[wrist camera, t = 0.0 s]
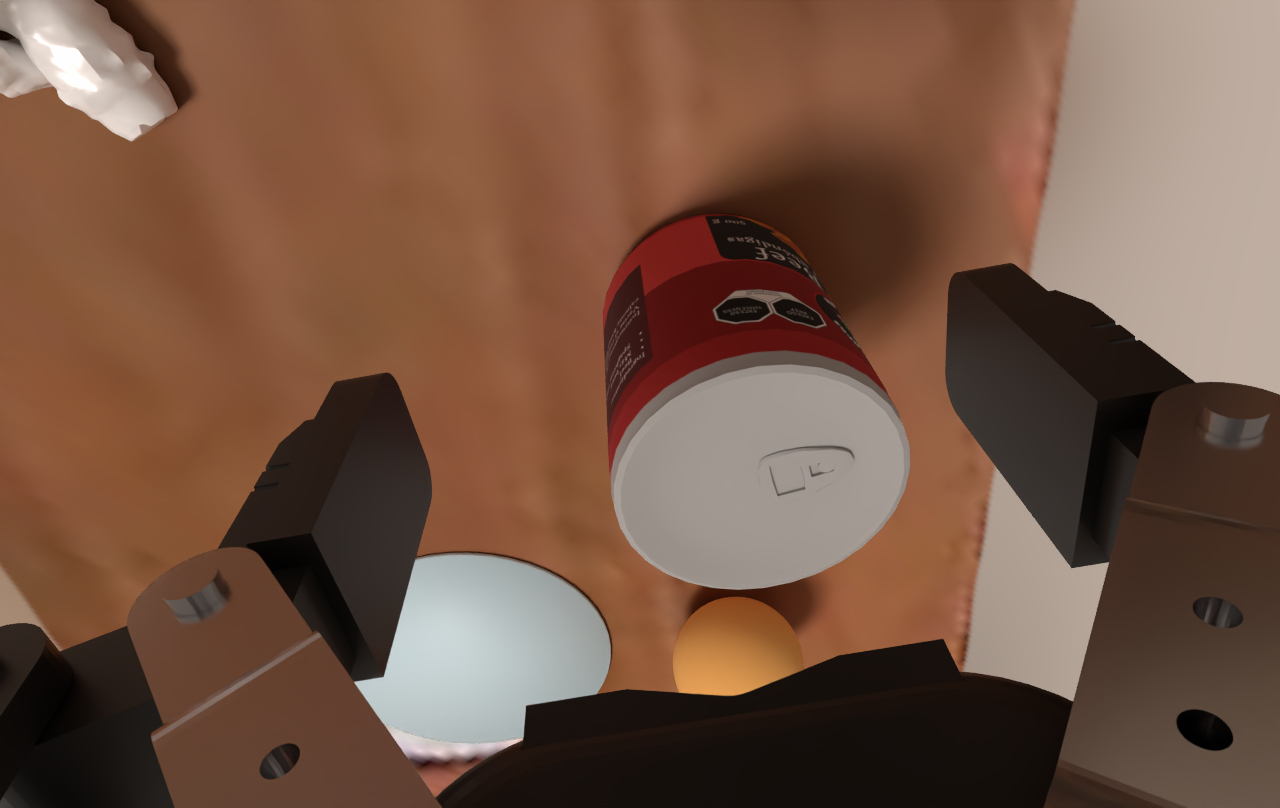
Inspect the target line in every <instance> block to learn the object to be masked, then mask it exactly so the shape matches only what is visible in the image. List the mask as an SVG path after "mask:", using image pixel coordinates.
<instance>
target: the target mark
mask: <svg viewBox="0 0 1280 808" xmlns="http://www.w3.org/2000/svg"><path fill="white" fill-rule="evenodd" d="M610 660H611V645H610V639H609V634H608V631H607V628H606V625H605V623H604V620H603V619H602V617H601V615H600V614H599V612H598V610H597V609H596V608H595V606H594V605H593V604H592V603H591V602H590V601H589V599H588V598H587V597H586V596H585V595H583V594H582V593H581V592H580V591H579V590H578V589H577V588H576V587H574V586H573V585H571V584H570V583H568V582H567V581H565V580H564V579H562V578H561V577H559V576H557V575H555V574H553V573H551V572H549V571H547V570H545V569H543V568H540V567H538V566H535V565H533V564H530V563H527V562H524V561H520V560H516V559H513V558H509V557H503V556H497V555H492V554H482V553H469V552H466V553H442V554H434V555H426V556H422V557H417V558H416V559H415V563H414V566H413V570H412V574H411V578H410V581H409V585H408V589H407V592H406V596H405V600H404V604H403V607H402V611H401V615H400V618H399V622H398V626H397V630H396V633H395V637H394V641H393V645H392V648H391V652H390V656H389V659H388V663H387V667H386V671H385V674H384V677H382V678H375V679H369V680H363V681H357V682H354V683H355V684H356V686H357V687H358V688H359V690H360V691H361V693H362V694H363V696H364V697H365V698H366V700H367V701H368V703H369V704H370V706H371V707H372V708H373V710H374V711H375V713H376V714H377V716H378V717H379V718H380V720H381V721H382V723H384V724H386V725H388V726H390V727H393V728H395V729H398V730H400V731H403V732H406V733H409V734H412V735H416V736H419V737H423V738H428V739H433V740H438V741H445V742H453V743H493V742H502V741H509V740H514V739H519V738H523V737H524V724H525V711H526V705H532V704H538V703H545V702H551V701H557V700H563V699H570V698H576V697H582V696H589V695H595V694H597V692H598V691H599V689H600V688H601V686H602V685H603V683H604V680H605V678H606V676H607V673H608V670H609V665H610Z"/></svg>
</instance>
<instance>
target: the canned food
mask: <svg viewBox="0 0 1280 808" xmlns="http://www.w3.org/2000/svg"><path fill="white" fill-rule="evenodd" d="M603 327H604V353H605V377H606V402H607V427H608V452H609V472H610V479H611V496H612V499H613V502H614V508H615V512H616V515H617V518H618V522H619V525H620V528H621V530H622V531H623V533H624V535H625V536H626V538H627V540H628V541H629V543H630V544H631V546H632V547H633V548H634V549H635V550H636V551H637V552H638V553H639V554H640V555H641V556H642V557H643V558H644V559H645V560H646V561H647V562H649V563H650V564H652V565H653V566H655V567H657V568H658V569H660V570H661V571H663V572H664V573H666V574H668V575H671V576H673V577H676V578H678V579H681V580H683V581H686V582H688V583H693V584H697V585H702V586H706V587H711V588H722V589H736V590H741V589H755V588H766V587H771V586H776V585H781V584H786V583H791V582H794V581H797V580H800V579H803V578H806V577H809V576H812V575H815V574H817V573H819V572H821V571H823V570H825V569H827V568H829V567H831V566H833V565H835V564H837V563H839V562H841V561H842V560H844V559H845V558H847V557H848V556H850V555H851V554H853V553H854V552H856V551H857V550H859V549H860V548H861V547H863V546H864V545H865V544H866V543H867V542H868V541H869V540H870V539H871V538H872V537H873V536H874V535H875V534H876V533H878V532H879V531H880V530H881V528H882V527H883V526H884V524H885V523H886V522H887V520H888V519H889V518H890V516H891V515H892V514H893V512H894V511H895V509H896V507H897V505H898V503H899V501H900V499H901V497H902V495H903V493H904V491H905V487H906V483H907V479H908V474H909V470H910V449H909V443H908V440H907V437H906V433H905V430H904V427H903V424H902V423H901V419H900V416H899V413H898V411H897V409H896V407H895V406H894V404H893V402H892V401H891V399H890V397H889V396H888V393H887V391H886V389H885V387H884V386H883V384H882V382H881V381H880V379H879V377H878V376H877V374H876V372H875V371H874V369H873V367H872V366H871V364H870V363H869V361H868V359H867V358H866V356H865V354H864V353H863V351H862V349H861V348H860V346H859V345H858V343H857V341H856V340H855V338H854V336H853V335H852V333H851V331H850V330H849V328H848V326H847V325H846V323H845V322H844V320H843V318H842V317H841V315H840V313H839V312H838V310H837V308H836V307H835V305H834V303H833V302H832V300H831V299H830V297H829V295H828V294H827V292H826V290H825V289H824V287H823V285H822V284H821V282H820V280H819V279H818V277H817V276H816V274H815V272H814V271H813V269H812V267H811V266H810V264H809V263H808V261H807V259H806V258H805V256H804V255H803V253H802V252H801V250H800V249H799V248H798V247H797V246H796V245H795V244H794V243H793V242H792V241H791V240H790V239H789V238H788V237H787V236H786V235H784V234H782V233H781V232H779V231H777V230H776V229H774V228H772V227H771V226H769V225H767V224H764V223H761V222H758V221H755V220H752V219H749V218H746V217H743V216H736V215H729V214H704V215H698V216H694V217H689V218H685V219H681V220H679V221H676V222H674V223H672V224H669V225H667V226H665V227H662V228H661V229H659V230H658V231H656V232H655V233H653V234H652V235H650V236H649V237H647V238H646V239H644V240H643V241H642V242H641V243H640V244H639V245H638V246H637V247H636V248H635V249H634V250H633V251H632V252H631V253H630V254H629V256H628V257H627V258H626V259H625V261H624V262H623V264H622V265H621V267H620V268H619V269H618V271H617V272H616V274H615V275H614V278H613V280H612V282H611V284H610V287H609V289H608V291H607V294H606V299H605V304H604V310H603Z"/></svg>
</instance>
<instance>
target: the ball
mask: <svg viewBox="0 0 1280 808" xmlns="http://www.w3.org/2000/svg"><path fill="white" fill-rule="evenodd" d="M802 670H804V664H803V655H802V650H801V646H800V644H799V641H798V639H797V636H796V634H795V632H794V631H793V629H792V627H791V626H790V625H789V623H788V622H787V621H786V620H785V619H784V617H783V616H782V615H780V614H779V613H778V612H777V611H776V610H774V609H773V608H772V607H770V606H768V605H766V604H765V603H763V602H760V601H758V600H754V599H751V598H746V597H725V598H721V599H717V600H714V601H712V602H709V603H707V604H706V605H704V606H702V607H701V608H699V609H698V610H697V611H696V612H695V613H693V614H692V615H691V616H690V618H689V619H688V620H687V621H686V622H685V624H684V625H683V627H682V629H681V631H680V633H679V635H678V637H677V640H676V644H675V647H674V654H673V672H674V677H675V682H676V685H677V687H678V690H679V693H691V694H707V695H722V696H733V695H740V694H743V693H746V692H749V691H752V690H754V689H757V688H759V687H762V686H764V685H767V684H769V683H772V682H774V681H777V680H779V679H782V678H784V677H787V676H789V675H792V674H794V673H797V672H799V671H802Z"/></svg>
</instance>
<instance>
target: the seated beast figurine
mask: <svg viewBox="0 0 1280 808" xmlns="http://www.w3.org/2000/svg"><path fill="white" fill-rule="evenodd" d="M0 30H2V31H5V32H8V33H9V34H11V35H13V36H14V37H16V38H14V39H10V40H8V41H4V40H0V93H2V94H4V95H5V96H7V97H10V98H15V97H17V96H20V95H22V94H27V93H30V92H31V91H35V90H39V89H41V88H47V87H52V86H54V87H55V88H56V89H57V92H58V95H59V98H60V99H61V100H62V101H63V102H64V103H65V104H67V105H69V106H72V107H74V108H77V109H79V110H81V111H84V112H85V113H86V114H87V115H88V116H90V117H91V118H92V119H95V120H98V121H99V122H101V123H102V124H103V125H104V126H106V127H107V128H108V129H109V130H111V131H112V132H113V133H115V134H117V135H119V136H121V137H123V138H125V139H127V140H130V141H134V140H136V139H137V138H139V137H141V136H142V135H144V134H146V133H147V132H149V131H150V130H151V129H153V128H154V127H156V126H157V125H159V124H160V123H162V122H163V121H164V120H165V118H166V117H169V116H170V115H172V114H173V113H175V112H176V111H177V110H178V108H177V105H176V103H175V101H174V98H173V96H172V94H171V92H170V89H169V87H168V86H167V84H166V83H165V82H164V81H163V79H162V78H161V77H160V75H159V74H158V73H157V72H156V70H155V67H154V56H153V55H152V54H151V53H148V52H144V51H141V50H139V49H138V48H137V47H136V46H135V43H134V40H133V37H132V35H131V34H129V33H128V32H126V31H125V30H124V29H123V28H121V27H120V26H118V25H116V24H115V23H113V22H112V21H111V19H110V16H109V13H108V11H107V9H106V8H105V7H103V6H101V5H100V4H98V3H96V2H95V1H94V0H0Z"/></svg>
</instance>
